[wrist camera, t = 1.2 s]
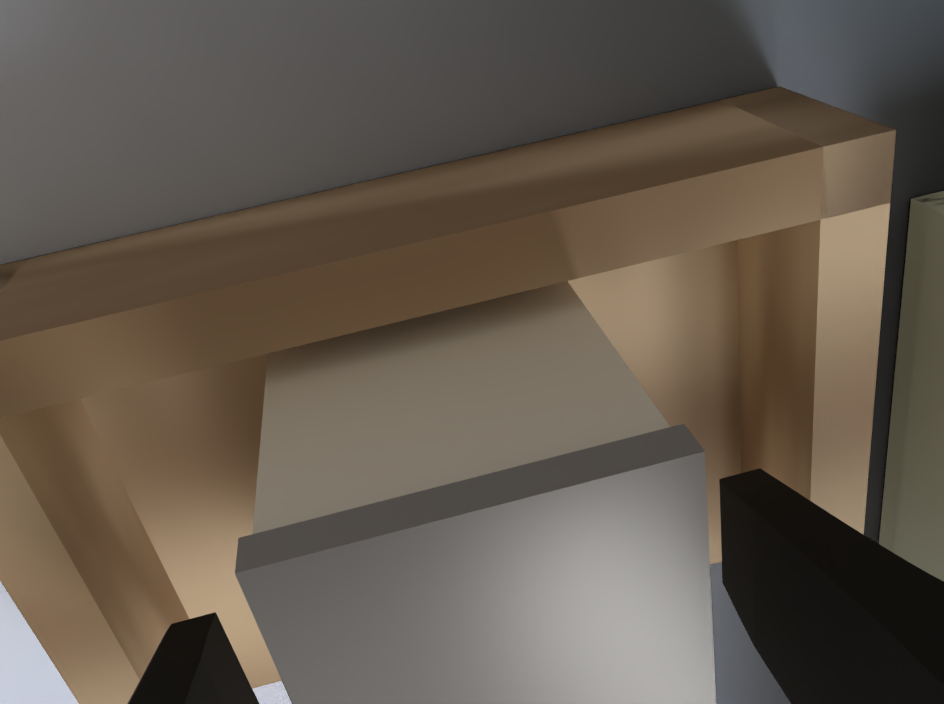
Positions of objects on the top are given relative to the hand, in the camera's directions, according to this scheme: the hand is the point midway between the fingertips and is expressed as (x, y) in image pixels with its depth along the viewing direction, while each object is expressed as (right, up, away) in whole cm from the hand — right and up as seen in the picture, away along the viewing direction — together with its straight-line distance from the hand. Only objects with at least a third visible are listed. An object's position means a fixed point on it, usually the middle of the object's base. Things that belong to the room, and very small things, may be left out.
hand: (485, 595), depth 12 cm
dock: (-1, +2, +4) cm, 4 cm away
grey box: (-1, +2, +3) cm, 4 cm away
